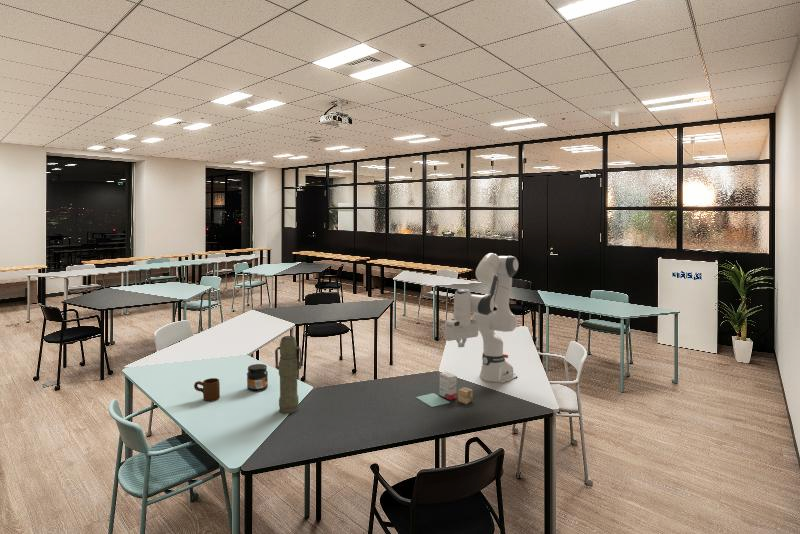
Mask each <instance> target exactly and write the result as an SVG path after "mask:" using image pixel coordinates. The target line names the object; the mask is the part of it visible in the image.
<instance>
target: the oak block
mask: <svg viewBox="0 0 800 534" xmlns="http://www.w3.org/2000/svg"><path fill="white" fill-rule="evenodd" d="M457 393H458V394H457V398H458V399H457V401H458V402H459V403H463V404H465V405H467V404H469V403H471V402H473V389H471V388H469V387H466V386H465V387H464V386H463V387H461V388H459V389H457Z"/></svg>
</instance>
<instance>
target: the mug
mask: <svg viewBox="0 0 800 534" xmlns="http://www.w3.org/2000/svg"><path fill="white" fill-rule="evenodd" d="M199 385H200V386H201V387H199ZM193 387H194V390H195V391H197V392H201V393H202V395H203V397H202V398H203V401H205V402H208V403H209V402H215V401H218V400H219V399H220V398H221V395H220V394H221V393H220V389H221V388H220V387H221V385H220V379H219V378H214V377H211V378H206V379H204V380H203V381H201V380H198V381H196V382H194V384H193Z"/></svg>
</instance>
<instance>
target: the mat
mask: <svg viewBox="0 0 800 534" xmlns="http://www.w3.org/2000/svg"><path fill="white" fill-rule="evenodd" d="M415 398H416V399H417V400H419V401H421V402H422V403H424V404H425V405H428V406H429V407H431V408H434V407H438V406H442V405H446V404H447V405H448V404H450V403H451V402H450V400H449V401H448V399H445V398H444V397H442V396H441V395H437V394H436V393H434V392H432V393H428V394H423V395H420V396H416V397H415Z"/></svg>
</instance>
